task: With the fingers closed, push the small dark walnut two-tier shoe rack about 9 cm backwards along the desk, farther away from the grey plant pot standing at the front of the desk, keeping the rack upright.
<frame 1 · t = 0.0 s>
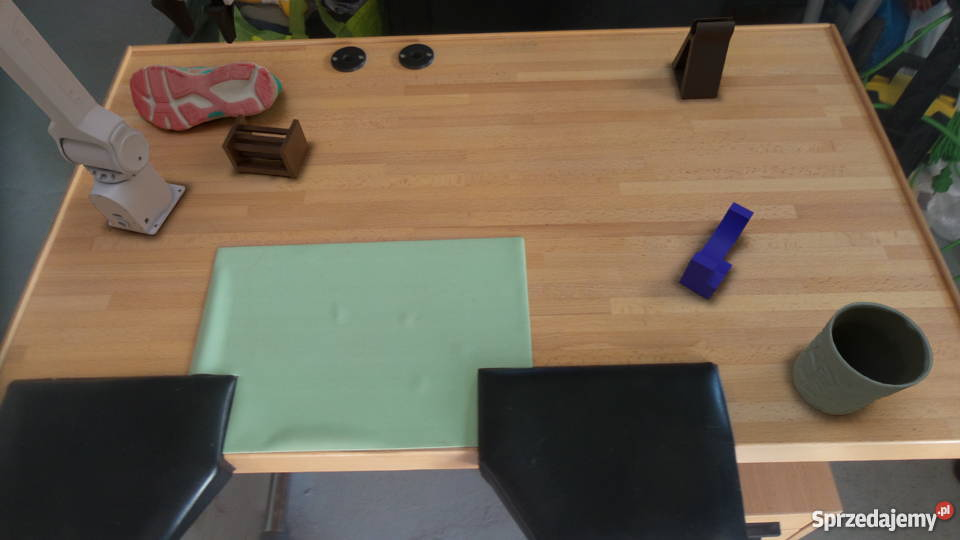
hand: (211, 36, 94), 10 cm above the table, tool pointing down, fingers open, 7 cm apart
blue angled block: (713, 263, 80), on the table
phone stand: (692, 82, 101), on the table
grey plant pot: (825, 383, 71), on the table
athletic shoe: (213, 113, 100), on the table
shoe rack: (273, 159, 93), on the table
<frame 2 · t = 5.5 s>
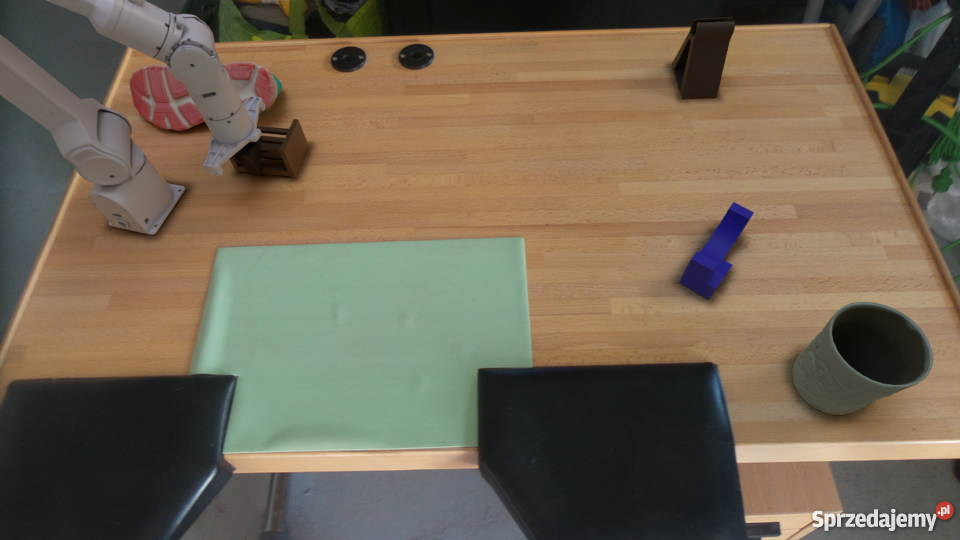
hand: (256, 172, 90), 1 cm above the table, tool pointing down, fingers closed
shoe rack: (273, 159, 93), on the table, touching gripper
everything else where it was.
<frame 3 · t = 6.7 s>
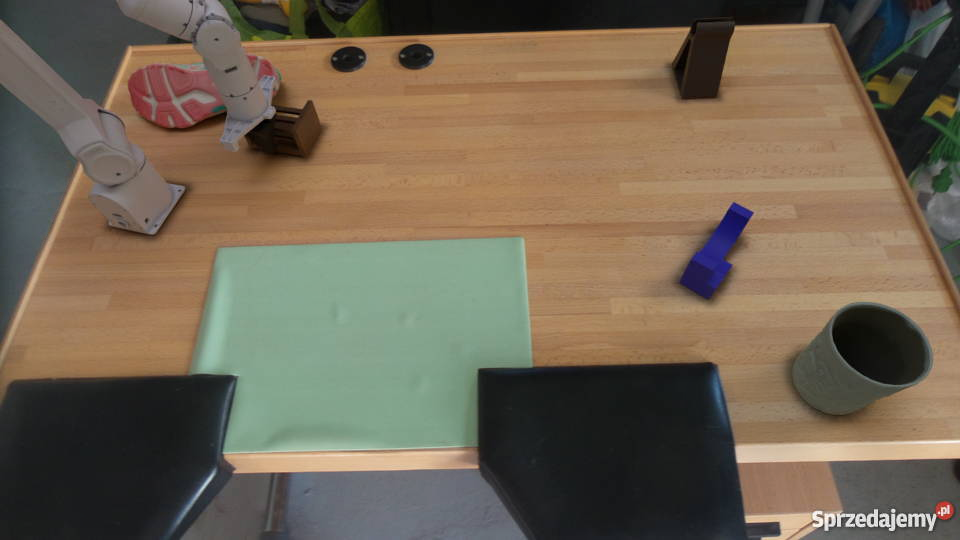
hand: (269, 151, 93), 1 cm above the table, tool pointing down, fingers closed
athletic shoe: (214, 108, 100), on the table, touching shoe rack
shoe rack: (286, 138, 96), on the table, touching athletic shoe, gripper
everything else where it was.
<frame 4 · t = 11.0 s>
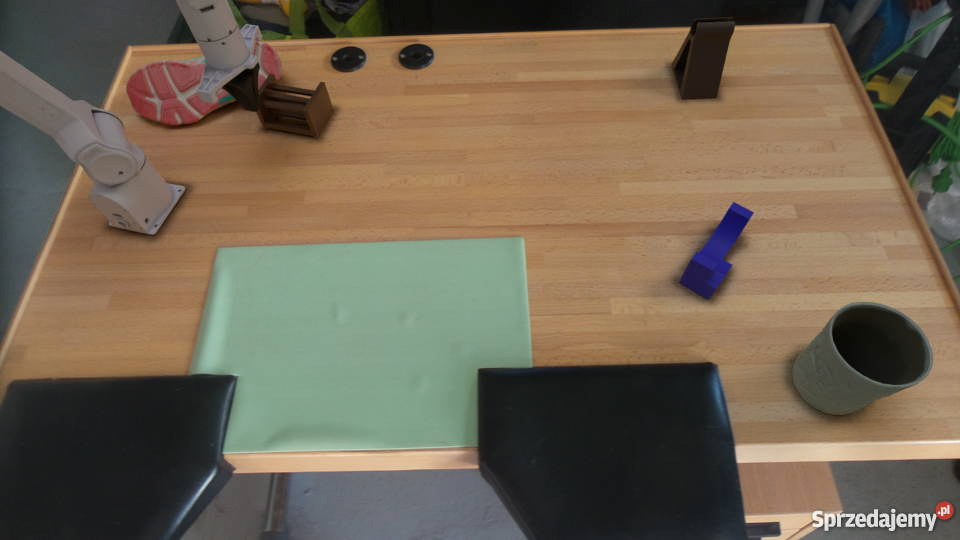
hand: (252, 108, 86), 9 cm above the table, tool pointing down, fingers closed
athletic shoe: (216, 102, 101), on the table
shoe rack: (299, 119, 98), on the table
everything else where it was.
at the end: shoe rack inside the target area on the table beside the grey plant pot (1.2 cm from its centre), on the table; shoe rack moved 9.6 cm from its start; shoe rack tilted 0° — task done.
